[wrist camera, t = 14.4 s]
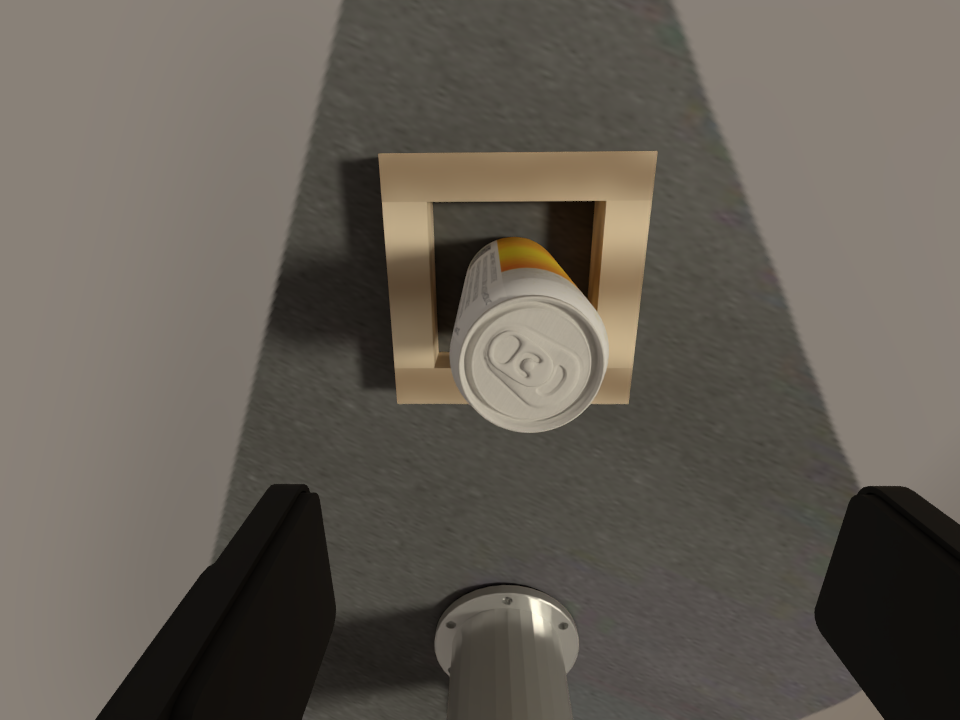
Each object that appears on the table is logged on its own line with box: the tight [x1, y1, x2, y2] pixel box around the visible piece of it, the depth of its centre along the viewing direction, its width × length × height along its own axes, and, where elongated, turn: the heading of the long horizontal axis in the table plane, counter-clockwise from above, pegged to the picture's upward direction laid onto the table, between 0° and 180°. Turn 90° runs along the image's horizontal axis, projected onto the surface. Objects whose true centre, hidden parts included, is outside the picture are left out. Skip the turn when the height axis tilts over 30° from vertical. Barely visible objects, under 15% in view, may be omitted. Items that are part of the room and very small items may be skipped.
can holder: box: [378, 151, 658, 404], centre depth 30 cm, size 15×15×3 cm
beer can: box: [450, 237, 609, 433], centre depth 24 cm, size 6×6×15 cm
